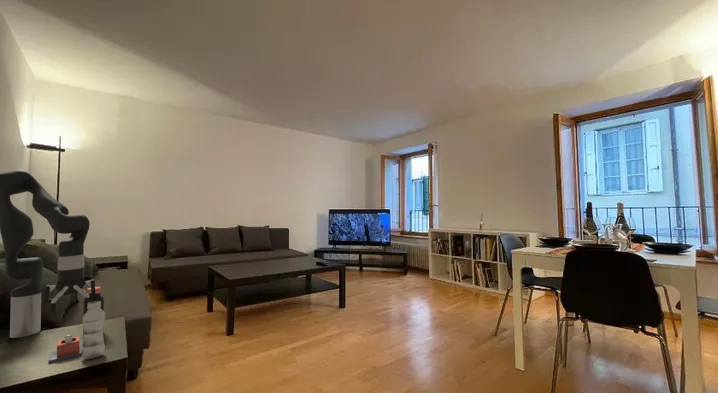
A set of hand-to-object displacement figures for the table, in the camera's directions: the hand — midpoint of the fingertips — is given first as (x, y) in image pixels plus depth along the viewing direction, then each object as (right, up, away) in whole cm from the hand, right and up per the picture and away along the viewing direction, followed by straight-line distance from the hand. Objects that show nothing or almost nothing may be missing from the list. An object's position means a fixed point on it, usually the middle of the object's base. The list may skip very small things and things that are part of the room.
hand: (70, 310), depth 118 cm
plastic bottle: (+12, -16, -4) cm, 20 cm away
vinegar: (-6, -17, +18) cm, 25 cm away
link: (0, -15, -1) cm, 15 cm away
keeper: (0, -16, -1) cm, 16 cm away
